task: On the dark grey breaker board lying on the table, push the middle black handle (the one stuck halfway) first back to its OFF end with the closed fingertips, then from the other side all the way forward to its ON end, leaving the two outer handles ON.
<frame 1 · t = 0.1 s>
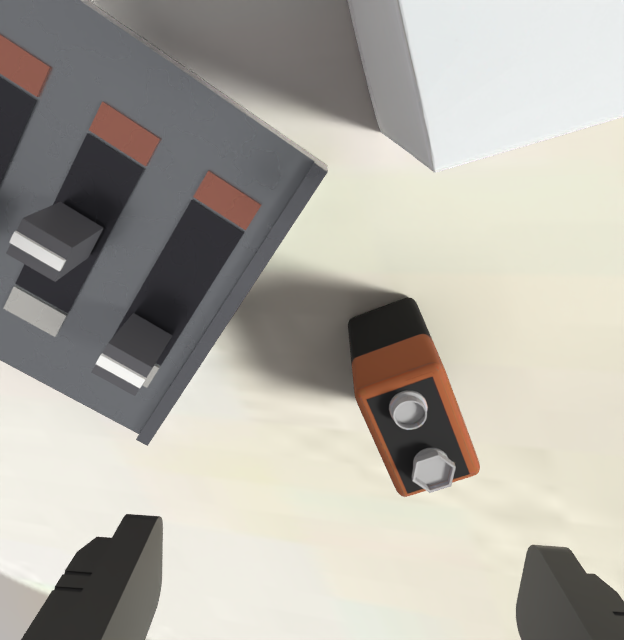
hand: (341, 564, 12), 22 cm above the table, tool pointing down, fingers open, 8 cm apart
supplement box: (444, 22, 28), on the table
breaker 3: (133, 353, 30), point 5 cm above the table, slide at 7.0 cm
panel: (92, 220, 32), on the table
breaker 2: (56, 240, 28), point 5 cm above the table, slide at 3.5 cm
battery: (396, 351, 35), on the table
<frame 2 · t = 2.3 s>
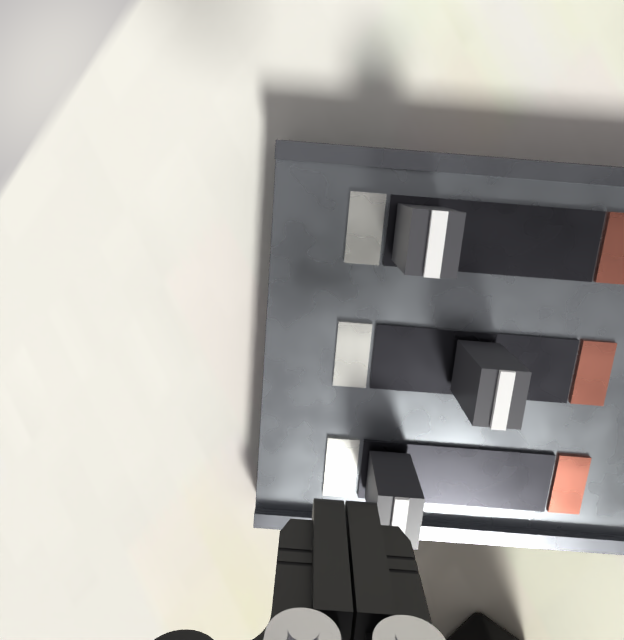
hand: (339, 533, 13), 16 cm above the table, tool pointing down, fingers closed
breaker 1: (425, 238, 23), point 5 cm above the table, slide at 7.0 cm
breaker 3: (392, 498, 26), point 5 cm above the table, slide at 7.0 cm
panel: (461, 350, 29), on the table
breaker 2: (487, 382, 24), point 5 cm above the table, slide at 3.5 cm
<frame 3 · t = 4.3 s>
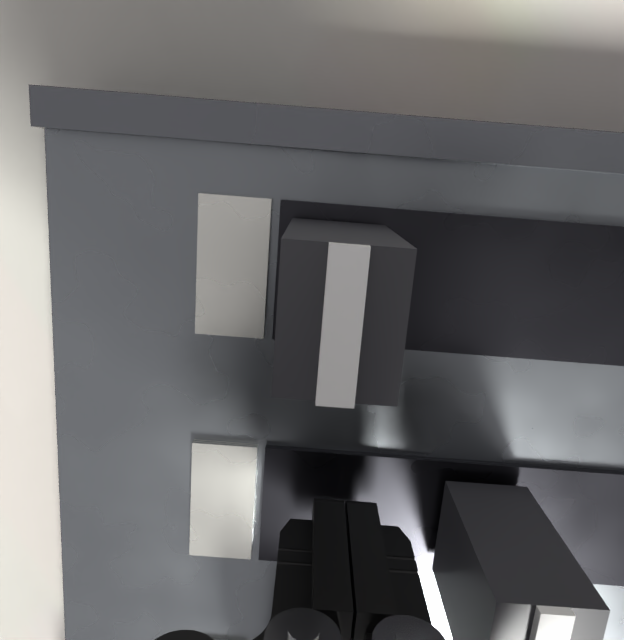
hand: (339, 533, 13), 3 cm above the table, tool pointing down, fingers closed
breaker 1: (337, 298, 10), point 5 cm above the table, slide at 7.0 cm
panel: (433, 474, 16), on the table
breaker 2: (506, 588, 12), point 5 cm above the table, slide at 2.9 cm, touching gripper
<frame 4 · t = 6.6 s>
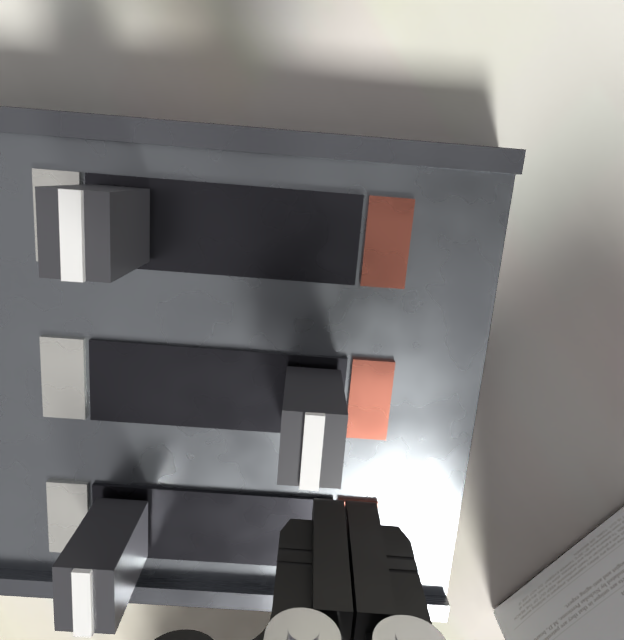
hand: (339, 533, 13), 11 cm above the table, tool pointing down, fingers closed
supplement box: (616, 604, 27), on the table
breaker 1: (98, 229, 17), point 5 cm above the table, slide at 7.0 cm
breaker 3: (104, 562, 20), point 5 cm above the table, slide at 7.0 cm
panel: (225, 370, 23), on the table
breaker 2: (311, 423, 19), point 5 cm above the table, slide at -0.1 cm
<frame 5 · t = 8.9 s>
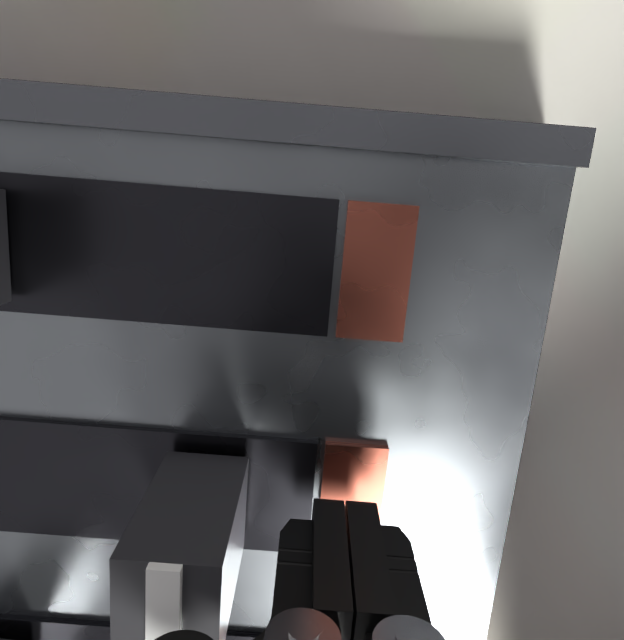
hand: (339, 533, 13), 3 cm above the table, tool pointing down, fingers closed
panel: (150, 446, 17), on the table
breaker 2: (188, 553, 12), point 5 cm above the table, slide at 1.4 cm, touching gripper
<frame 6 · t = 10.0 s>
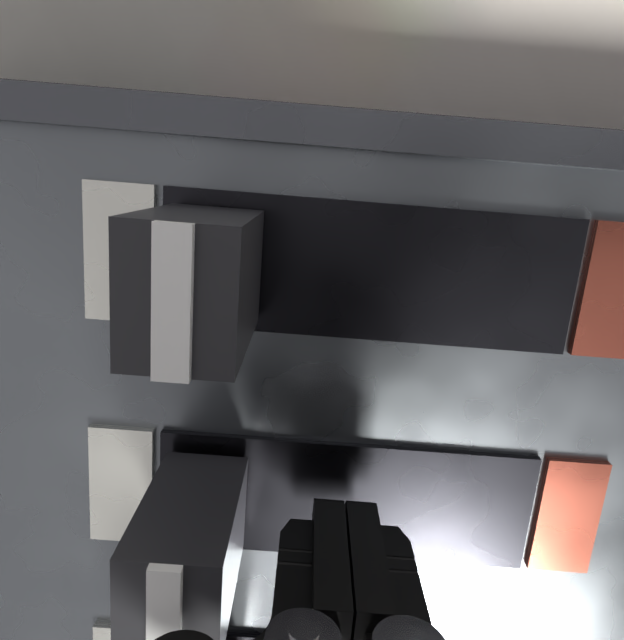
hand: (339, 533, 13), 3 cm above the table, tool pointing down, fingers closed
breaker 1: (198, 280, 11), point 5 cm above the table, slide at 7.0 cm
panel: (342, 460, 17), on the table
breaker 2: (188, 554, 12), point 5 cm above the table, slide at 7.1 cm, touching gripper
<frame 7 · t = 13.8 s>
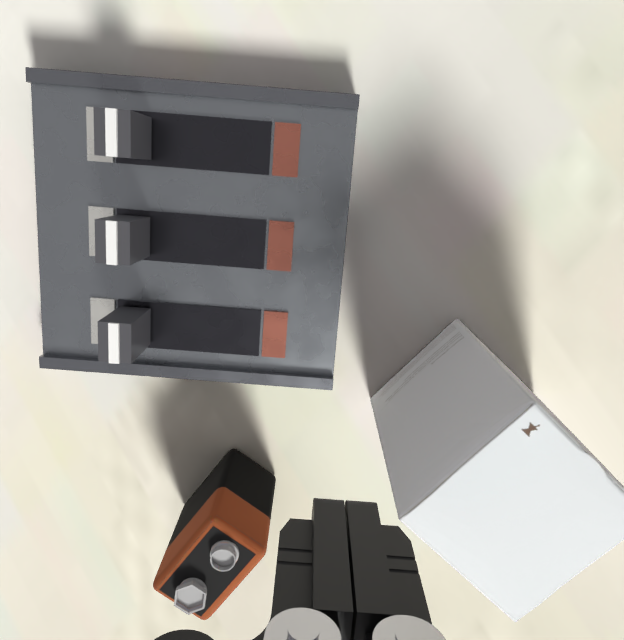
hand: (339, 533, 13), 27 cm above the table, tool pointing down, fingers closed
supplement box: (451, 397, 42), on the table
breaker 1: (123, 135, 32), point 5 cm above the table, slide at 7.0 cm
breaker 3: (125, 334, 35), point 5 cm above the table, slide at 7.0 cm
panel: (197, 235, 38), on the table
breaker 2: (123, 239, 34), point 5 cm above the table, slide at 7.1 cm
battery: (230, 489, 44), on the table
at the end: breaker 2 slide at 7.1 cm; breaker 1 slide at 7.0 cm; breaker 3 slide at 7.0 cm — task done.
